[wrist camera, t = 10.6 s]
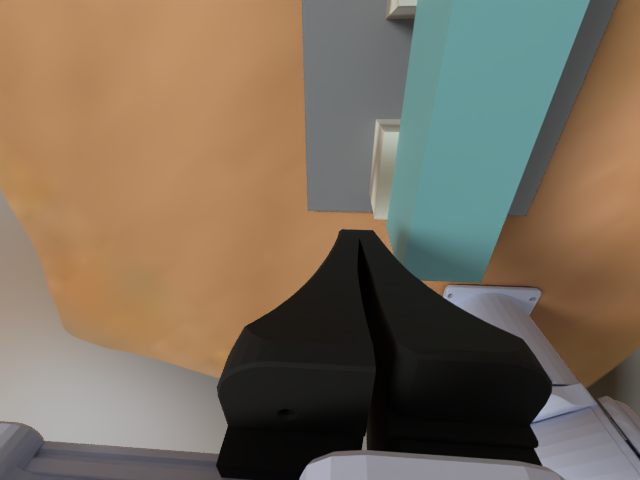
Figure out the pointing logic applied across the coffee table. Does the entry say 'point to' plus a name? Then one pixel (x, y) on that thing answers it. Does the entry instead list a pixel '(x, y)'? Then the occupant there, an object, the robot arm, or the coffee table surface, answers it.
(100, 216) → the coffee table surface
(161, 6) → the coffee table surface
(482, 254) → the teal beam
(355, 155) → the grey flat plate
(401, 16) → the pillar
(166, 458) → the robot arm
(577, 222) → the coffee table surface
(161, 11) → the coffee table surface
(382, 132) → the pillar
